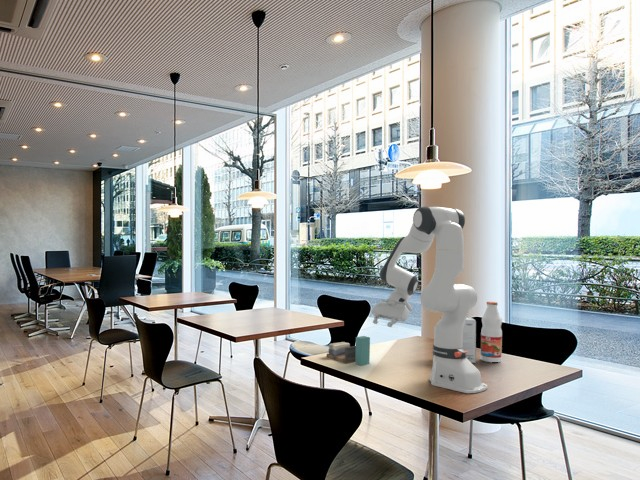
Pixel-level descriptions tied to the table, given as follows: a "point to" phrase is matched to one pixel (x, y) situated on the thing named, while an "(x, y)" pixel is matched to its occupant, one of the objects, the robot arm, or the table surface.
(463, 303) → the robot arm
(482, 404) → the table surface
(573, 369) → the table surface
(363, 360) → the teal rectangular block
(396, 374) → the table surface
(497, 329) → the fruit juice
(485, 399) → the table surface
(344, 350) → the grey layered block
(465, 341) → the hard drive box
